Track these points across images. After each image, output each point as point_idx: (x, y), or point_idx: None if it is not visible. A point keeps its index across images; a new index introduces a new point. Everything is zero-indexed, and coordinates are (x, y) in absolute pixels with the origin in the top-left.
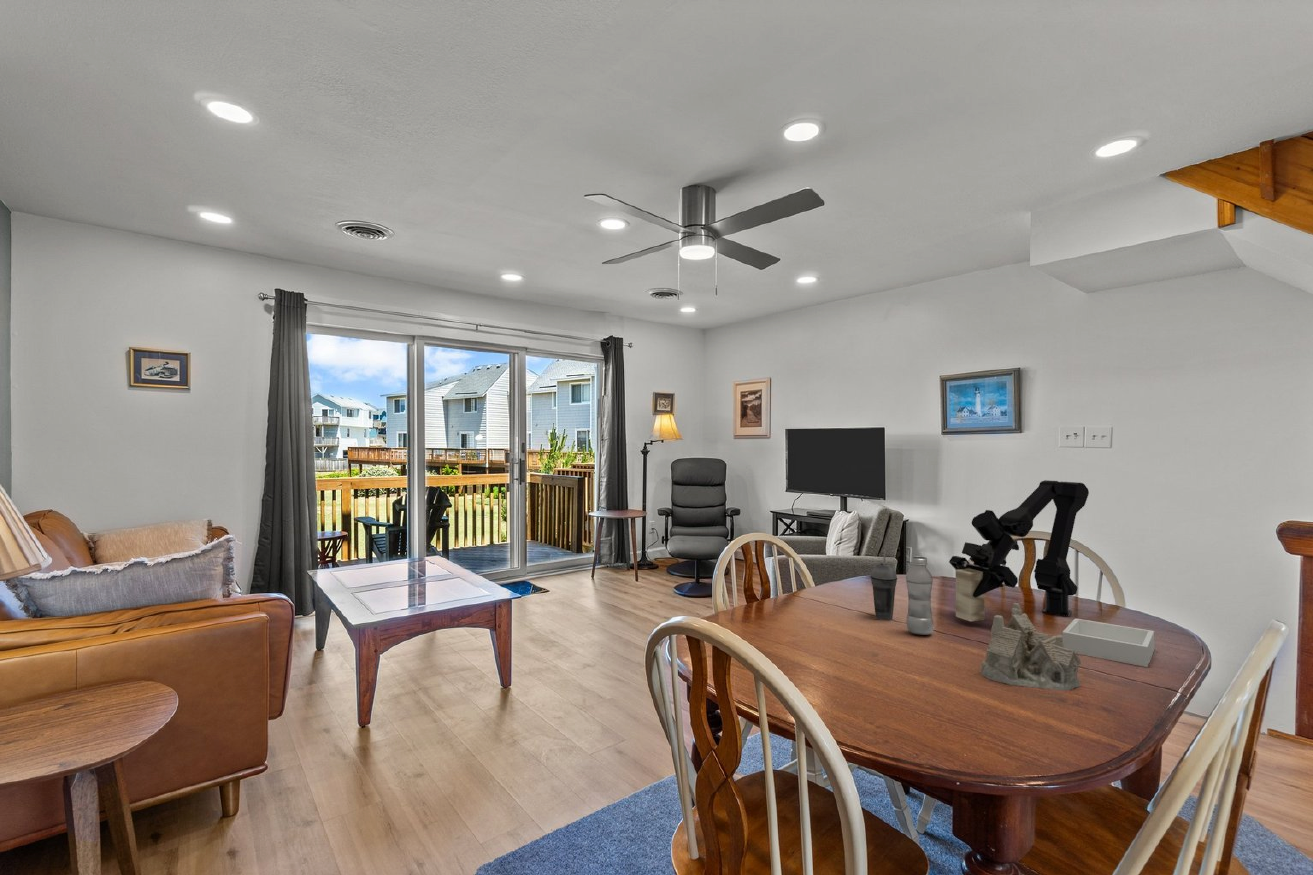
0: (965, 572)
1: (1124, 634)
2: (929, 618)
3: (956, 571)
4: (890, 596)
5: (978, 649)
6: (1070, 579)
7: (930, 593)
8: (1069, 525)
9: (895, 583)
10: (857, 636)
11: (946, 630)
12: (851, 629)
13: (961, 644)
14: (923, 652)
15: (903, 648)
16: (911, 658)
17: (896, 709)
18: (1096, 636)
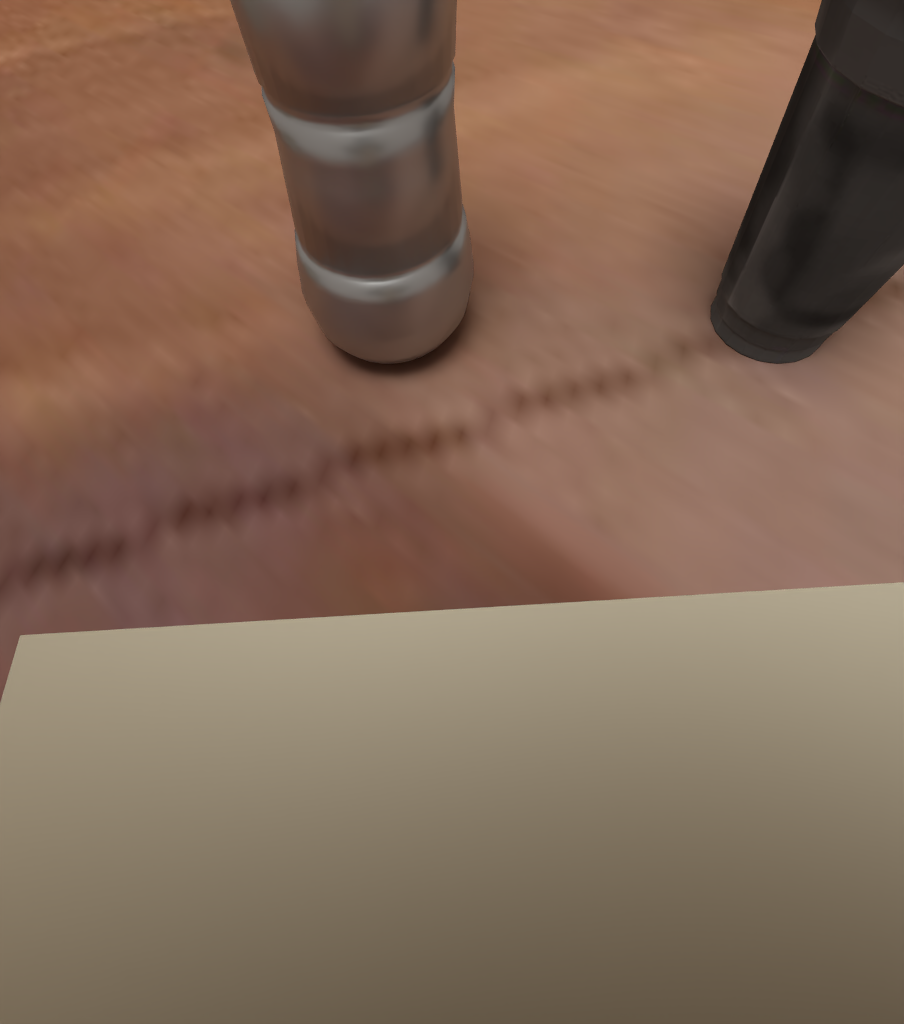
0: (332, 636)
1: None
2: (297, 236)
3: (870, 597)
4: (782, 155)
5: (19, 432)
6: None
7: (238, 16)
8: None
9: (875, 41)
10: (460, 88)
11: (401, 515)
12: (568, 107)
13: (135, 406)
14: (155, 188)
15: (240, 153)
16: (129, 122)
17: None
18: None
